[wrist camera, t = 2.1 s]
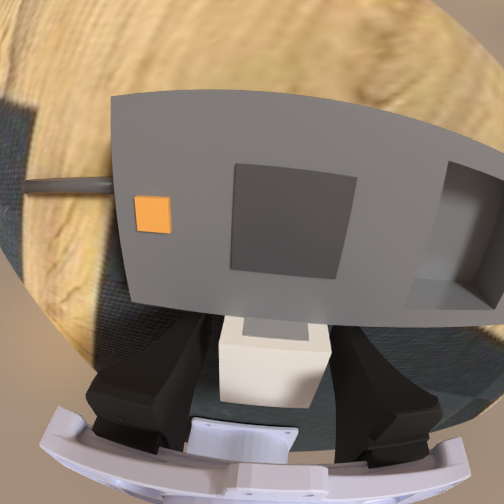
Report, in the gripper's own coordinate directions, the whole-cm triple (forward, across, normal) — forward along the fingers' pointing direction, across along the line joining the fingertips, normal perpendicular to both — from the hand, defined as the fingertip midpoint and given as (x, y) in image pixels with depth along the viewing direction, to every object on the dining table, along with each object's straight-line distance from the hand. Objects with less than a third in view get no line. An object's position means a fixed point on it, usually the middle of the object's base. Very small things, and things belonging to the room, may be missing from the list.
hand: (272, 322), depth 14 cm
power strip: (+1, 0, -6) cm, 6 cm away
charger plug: (+1, 0, 0) cm, 1 cm away
